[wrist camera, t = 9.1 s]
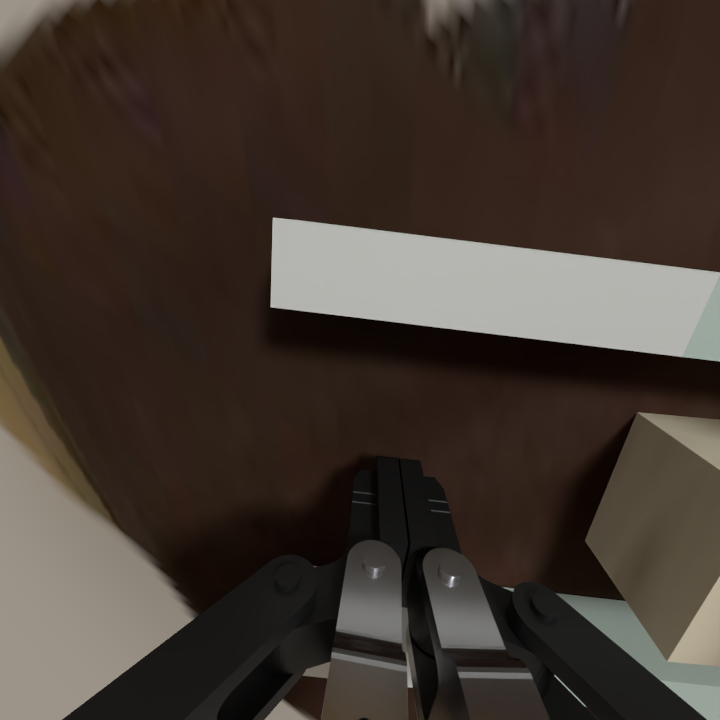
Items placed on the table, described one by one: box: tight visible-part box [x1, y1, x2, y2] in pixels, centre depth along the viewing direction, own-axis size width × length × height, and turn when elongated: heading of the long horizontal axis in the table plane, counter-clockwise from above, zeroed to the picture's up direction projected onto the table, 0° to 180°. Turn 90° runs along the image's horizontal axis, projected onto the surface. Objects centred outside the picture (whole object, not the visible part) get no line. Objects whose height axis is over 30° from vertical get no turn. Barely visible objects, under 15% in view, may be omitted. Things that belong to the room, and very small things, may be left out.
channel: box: [271, 218, 720, 720], centre depth 12 cm, size 22×16×3 cm
